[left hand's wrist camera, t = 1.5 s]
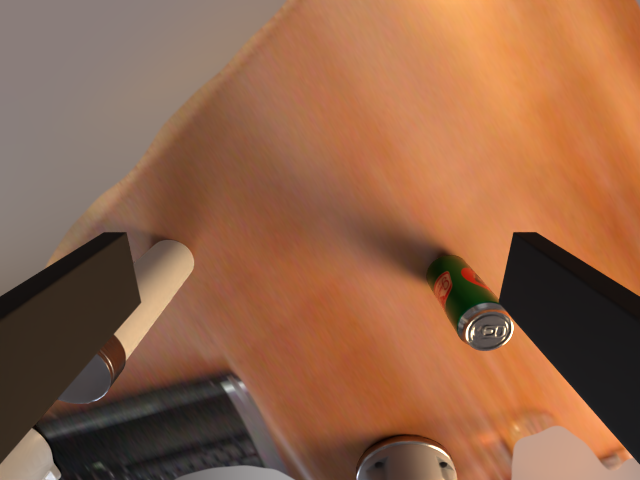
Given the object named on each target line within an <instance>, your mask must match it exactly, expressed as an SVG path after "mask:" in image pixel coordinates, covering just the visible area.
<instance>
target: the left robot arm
mask: <svg viewBox="0 0 640 480" xmlns="http://www.w3.org/2000/svg"><path fill="white" fill-rule="evenodd" d="M140 304H141V298H140V293H139V289H138V284H137V279H136V275H135V270H134V265H133V261H132V256H131V251H130V247H129V242H128V237H127V233H126V232H104V233H102V234H100V235H99V236H97V237H95V238H94V239H92V240H91V241H89V242H87V243H86V244H84V245H83V246H81V247H79V248H78V249H76V250H75V251H73V252H71V253H70V254H68V255H66V256H65V257H63V258H62V259H60V260H58V261H57V262H55V263H54V264H52V265H50V266H49V267H47V268H46V269H44V270H42V271H41V272H39V273H38V274H36V275H34V276H33V277H31V278H29V279H28V280H26V281H25V282H23V283H22V284H20V285H18V286H17V287H15V288H13V289H12V290H10V291H9V292H7V293H5V294H4V295H2V296H0V464H1V463H2V462H3V461H4V460H5V458H6V457H7V456H8V455H9V454H10V453H11V451H12V450H13V449H14V448H15V447H16V446H17V445H18V443H19V442H20V441H21V440H22V439H23V438H24V437H25V435H26V434H27V433H28V432H29V431H30V430H31V429H32V427H33V426H34V425H35V424H36V423H37V422H38V421H39V419H40V418H41V417H42V416H43V415H44V414H45V413H46V411H47V410H48V409H49V408H50V407H51V406H52V405H53V403H54V402H55V401H56V400H57V399H58V398H59V397H60V395H61V394H62V393H63V392H64V391H65V390H66V388H67V387H68V386H69V385H70V384H71V383H72V382H73V380H74V379H75V378H76V377H77V376H78V375H79V374H80V372H81V371H82V370H83V369H84V368H85V367H86V366H87V364H88V363H89V362H90V361H91V360H92V359H93V358H94V356H95V355H96V354H97V353H98V352H99V351H100V350H101V348H102V347H103V346H104V345H105V344H106V343H107V342H108V340H109V339H110V338H111V337H112V336H113V335H114V334H115V332H116V331H117V330H118V329H119V328H120V327H121V325H122V324H123V323H124V322H125V321H126V320H127V319H128V317H129V316H130V315H131V314H132V313H133V312H134V311H135V309H136V308H137V307H138V306H139V305H140ZM499 304H500V305H501V306H502V307H503V308H504V309H505V311H506V312H507V313H508V314H509V315H510V316H511V317H512V319H513V320H514V321H515V322H516V323H517V324H518V325H519V327H520V328H521V329H522V330H523V331H524V332H525V334H526V335H527V336H528V337H529V338H530V339H531V340H532V342H533V343H534V344H535V345H536V346H537V347H538V348H539V350H540V351H541V352H542V353H543V354H544V355H545V356H546V358H547V359H548V360H549V361H550V362H551V363H552V364H553V366H554V367H555V368H556V369H557V370H558V371H559V372H560V374H561V375H562V376H563V377H564V378H565V379H566V380H567V382H568V383H569V384H570V385H571V386H572V387H573V388H574V390H575V391H576V392H577V393H578V394H579V395H580V397H581V398H582V399H583V400H584V401H585V402H586V403H587V405H588V406H589V407H590V408H591V409H592V410H593V411H594V413H595V414H596V415H597V416H598V417H599V418H600V419H601V421H602V422H603V423H604V424H605V425H606V426H607V427H608V429H609V430H610V431H611V432H612V433H613V434H614V435H615V437H616V438H617V439H618V440H619V441H620V442H621V443H622V445H623V446H624V447H625V448H626V449H627V450H628V451H629V453H630V454H631V455H632V456H633V457H634V458H635V460H636V461H637V462H638V463H639V464H640V296H638V295H636V294H635V293H633V292H631V291H630V290H628V289H627V288H625V287H623V286H622V285H620V284H619V283H617V282H615V281H614V280H612V279H611V278H609V277H607V276H606V275H604V274H602V273H601V272H599V271H598V270H596V269H594V268H593V267H591V266H590V265H588V264H586V263H585V262H583V261H582V260H580V259H578V258H577V257H575V256H573V255H572V254H570V253H569V252H567V251H565V250H564V249H562V248H561V247H559V246H557V245H556V244H554V243H553V242H551V241H549V240H548V239H546V238H545V237H543V236H541V235H540V234H538V233H536V232H514V233H513V237H512V242H511V247H510V251H509V256H508V261H507V265H506V270H505V275H504V279H503V284H502V289H501V293H500V298H499ZM356 477H357V480H457V475H456V469H455V466H454V463H453V460H452V458H451V456H450V454H449V452H448V451H447V450H446V449H445V448H444V447H443V446H442V445H441V444H439V443H437V442H436V441H433V440H431V439H428V438H425V437H420V436H397V437H392V438H389V439H386V440H383V441H381V442H379V443H377V444H375V445H373V446H372V447H370V448H369V449H368V450H367V451H366V452H365V453H364V454H363V455H362V456H361V458H360V459H359V461H358V464H357V468H356Z"/></svg>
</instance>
